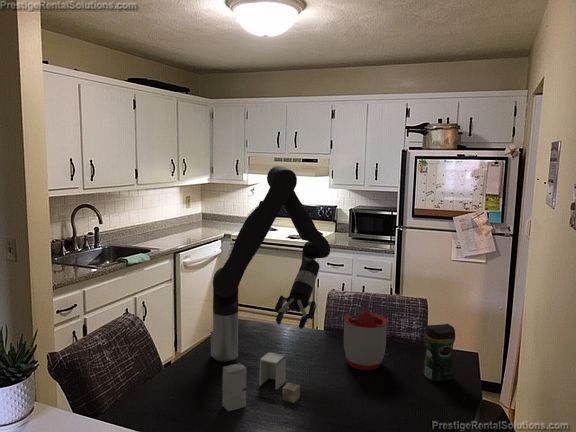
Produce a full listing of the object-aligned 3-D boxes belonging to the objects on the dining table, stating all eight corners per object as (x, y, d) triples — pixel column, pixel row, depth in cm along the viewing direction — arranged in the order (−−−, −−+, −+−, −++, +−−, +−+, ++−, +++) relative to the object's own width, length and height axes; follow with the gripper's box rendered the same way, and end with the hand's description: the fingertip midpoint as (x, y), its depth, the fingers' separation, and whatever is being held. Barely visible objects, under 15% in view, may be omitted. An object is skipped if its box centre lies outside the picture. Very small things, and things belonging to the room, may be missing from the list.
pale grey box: (259, 385, 153) (259, 358, 152) (268, 377, 159) (268, 351, 158) (276, 389, 151) (277, 363, 149) (285, 381, 156) (286, 355, 155)
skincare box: (228, 412, 137) (228, 372, 135) (221, 405, 141) (221, 366, 139) (247, 406, 140) (247, 367, 139) (240, 399, 144) (240, 362, 142)
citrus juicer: (366, 350, 183) (368, 300, 180) (394, 369, 167) (397, 314, 165) (331, 357, 176) (333, 305, 173) (357, 377, 160) (360, 320, 158)
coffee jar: (443, 370, 167) (447, 320, 164) (456, 381, 159) (460, 328, 157) (419, 373, 164) (422, 321, 162) (431, 383, 157) (434, 330, 154)
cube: (282, 400, 145) (282, 387, 144) (288, 394, 148) (288, 382, 148) (293, 403, 143) (294, 390, 142) (299, 397, 146) (299, 385, 146)
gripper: (282, 277, 172) (267, 317, 164) (318, 283, 166) (304, 324, 157) (288, 288, 178) (274, 327, 169) (324, 293, 172) (310, 334, 163)
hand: (289, 325), depth 163 cm, fingers open, 8 cm apart
